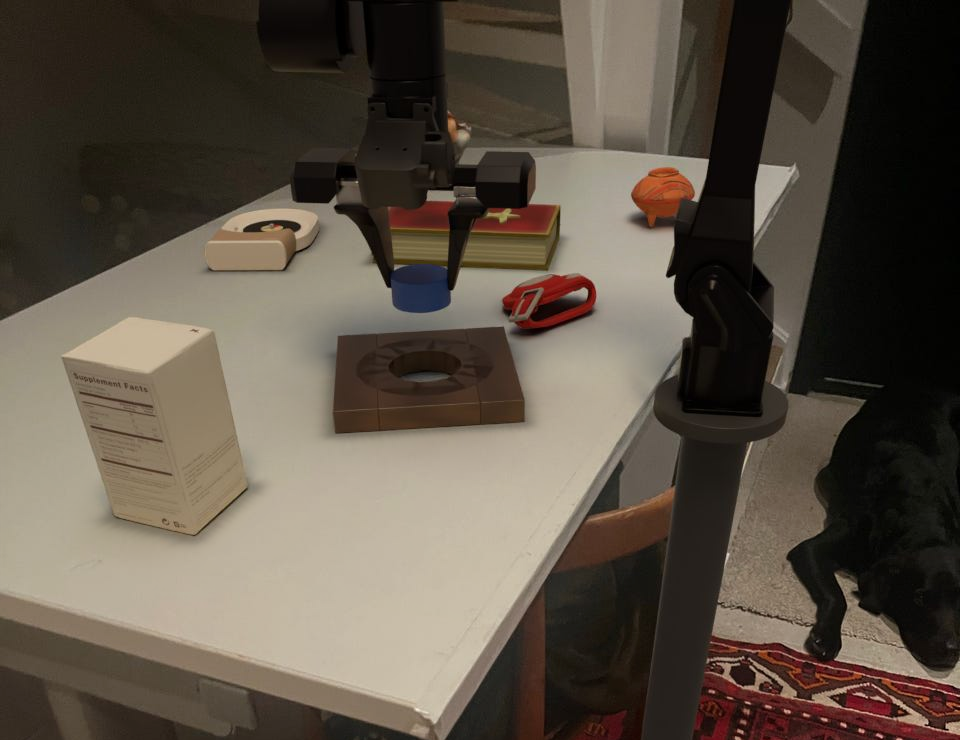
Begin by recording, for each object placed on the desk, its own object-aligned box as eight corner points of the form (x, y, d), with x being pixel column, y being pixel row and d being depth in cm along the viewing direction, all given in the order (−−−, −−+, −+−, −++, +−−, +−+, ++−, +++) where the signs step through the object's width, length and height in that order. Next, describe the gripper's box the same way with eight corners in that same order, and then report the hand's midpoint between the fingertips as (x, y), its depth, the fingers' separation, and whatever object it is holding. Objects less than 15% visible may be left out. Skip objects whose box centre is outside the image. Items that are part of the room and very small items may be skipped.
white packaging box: (172, 470, 73) (130, 313, 65) (251, 488, 71) (217, 327, 63) (110, 518, 68) (56, 353, 60) (193, 538, 66) (149, 370, 58)
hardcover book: (397, 231, 119) (394, 196, 116) (559, 237, 116) (560, 201, 113) (372, 262, 110) (369, 225, 107) (547, 270, 107) (548, 231, 104)
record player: (193, 243, 107) (236, 196, 122) (198, 270, 109) (240, 221, 124) (292, 242, 106) (323, 195, 122) (296, 270, 108) (326, 220, 124)
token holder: (503, 346, 91) (503, 326, 89) (524, 421, 79) (524, 400, 77) (340, 355, 90) (337, 335, 88) (335, 433, 78) (332, 411, 76)
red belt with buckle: (490, 287, 100) (579, 257, 99) (502, 328, 102) (589, 299, 101) (504, 301, 89) (604, 267, 89) (517, 346, 91) (614, 314, 91)
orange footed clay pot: (684, 231, 115) (678, 173, 111) (626, 238, 119) (618, 182, 115) (706, 212, 120) (700, 155, 116) (650, 219, 124) (642, 165, 120)
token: (456, 293, 80) (454, 264, 79) (444, 314, 77) (443, 285, 75) (400, 290, 81) (398, 262, 80) (386, 312, 77) (383, 283, 76)
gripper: (248, 94, 63) (284, 319, 74) (517, 97, 61) (516, 330, 71) (299, 66, 72) (325, 271, 82) (538, 67, 69) (534, 279, 79)
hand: (420, 287), depth 78 cm, fingers closed on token, 5 cm apart
